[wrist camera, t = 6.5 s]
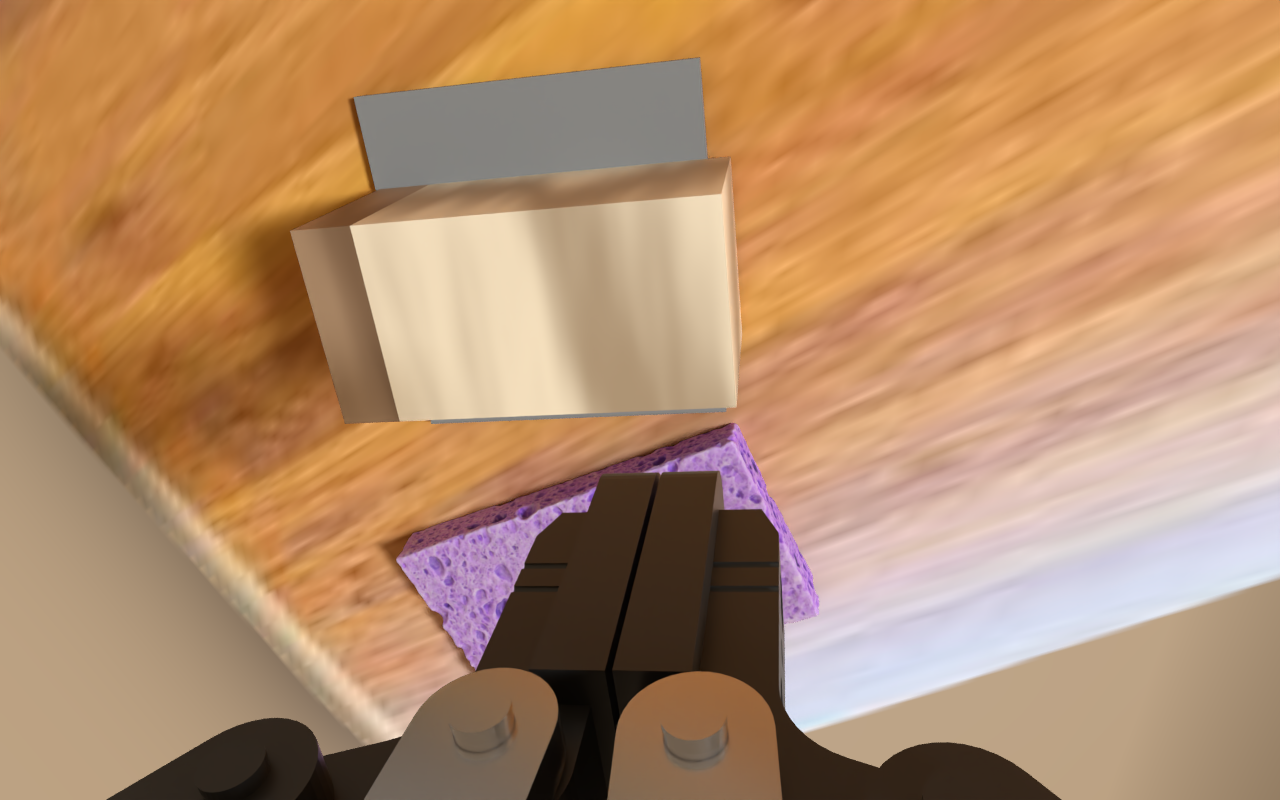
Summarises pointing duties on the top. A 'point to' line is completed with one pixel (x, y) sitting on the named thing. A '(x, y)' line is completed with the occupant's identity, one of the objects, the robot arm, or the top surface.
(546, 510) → the sponges
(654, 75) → the mat
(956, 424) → the top surface
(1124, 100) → the top surface
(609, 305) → the birch block
